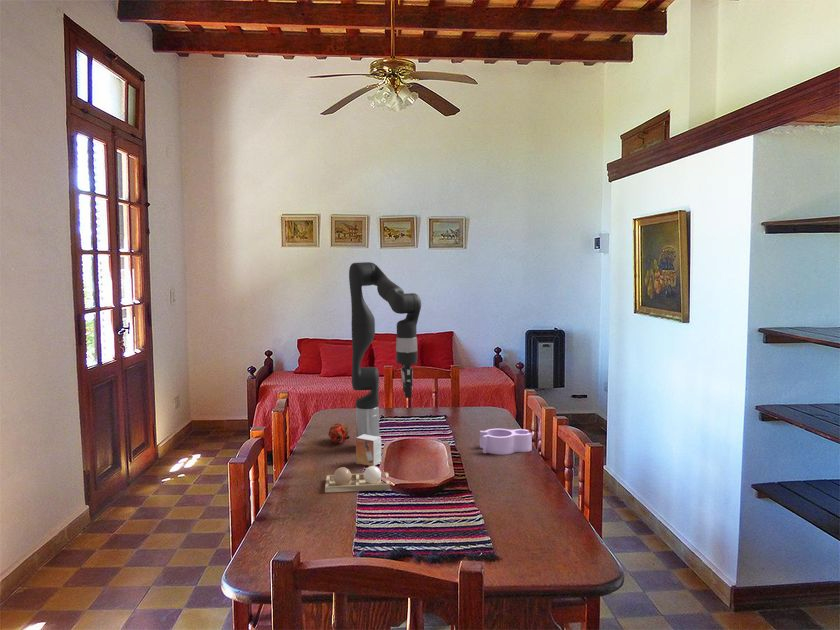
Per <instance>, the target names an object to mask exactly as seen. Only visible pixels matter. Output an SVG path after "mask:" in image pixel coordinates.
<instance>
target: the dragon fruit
mask: <svg viewBox="0 0 840 630" xmlns="http://www.w3.org/2000/svg"><path fill="white" fill-rule="evenodd" d="M348 429H349V427H348V426H347V425H344V424H343V423H342V422H341V423H334V424H333V425H332V426H331V427H330V428H329V431H328V437H329V440H330V441H331V442H332V443H333V444H334V445H339V444H340V443H341V444H342V443H345V442H346V441H347V440H349V439H350V438H351V435H349V434H350V433H349V430H348Z"/></svg>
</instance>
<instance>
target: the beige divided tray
mask: <svg viewBox="0 0 840 630" xmlns="http://www.w3.org/2000/svg"><path fill="white" fill-rule="evenodd" d="M381 474H385V476H386V478H387V477H389V471H388V472H387V471H385V472H383V471H381ZM351 475H352V477H351V481H350V482H349V483H348V484H347V485H342V486H340V485H338V484H336V483H335V481H334V474H327V475H326V479H325V487H324V492H325V494H327V493H344V492H345V493H346V492H348V493H349V492H367V491H386V490H387V491H388V490H391V485H390V480H389V481H387V480H386V483H384V482H383V481H381V480H380V481H379V482H378V483H376V484H368V483H367V482H366V481H365V479H364V472H363V473H362V472H361V473H351ZM389 478H390V477H389Z"/></svg>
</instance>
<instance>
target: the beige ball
mask: <svg viewBox="0 0 840 630" xmlns="http://www.w3.org/2000/svg"><path fill="white" fill-rule="evenodd" d="M351 474H352V472H351V471H350V469H348V467H344V466H342V467H339V468H337V469H336V470H335V471H334V473H333V475H334V481H335V483H336V484H338V485H340V486H342V485H347V484H348V483H349V482H350V481H351V477H352V475H351Z"/></svg>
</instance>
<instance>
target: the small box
mask: <svg viewBox="0 0 840 630" xmlns="http://www.w3.org/2000/svg"><path fill="white" fill-rule="evenodd" d="M380 462H381V463H382V437H381V436H379V437H378V436H371V435H366V434H363V435H361V436H359V437H357V436H356V437H355V464H356V465H363V466H364V465H365V466H368V467H370V466H377V465H379V464H381V463H380Z"/></svg>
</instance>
